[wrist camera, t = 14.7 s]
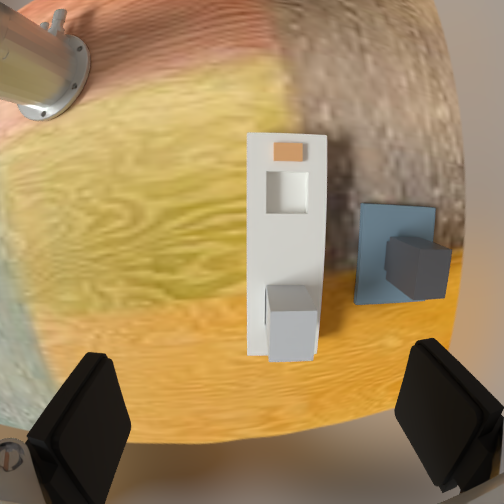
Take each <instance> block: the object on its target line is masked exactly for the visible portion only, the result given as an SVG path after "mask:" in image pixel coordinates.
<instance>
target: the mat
mask: <svg viewBox="0 0 504 504" xmlns="http://www.w3.org/2000/svg"><path fill="white" fill-rule="evenodd" d="M434 223H435V208H433V207H421V206H405V205H389V204H369V203H361V210H360V231H359V247H358V261H357V273H356V284H355V294H354V303H355V304H356V305H365V304H384V303H400V302H415V301H425V300H412V299H410V298H409V297H408V296H407V295H405V294H404V293H403V292H401V291H400V290H399V289H398V288H396V287H395V286H394V285H392V284H391V283H390V282H388V281H387V280H386V272H387V271H386V270H384V265H385V255H386V243H387V241H390V236H392V237H420V238H423V239H425V240H428V241H431V242H433V236H434Z"/></svg>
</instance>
